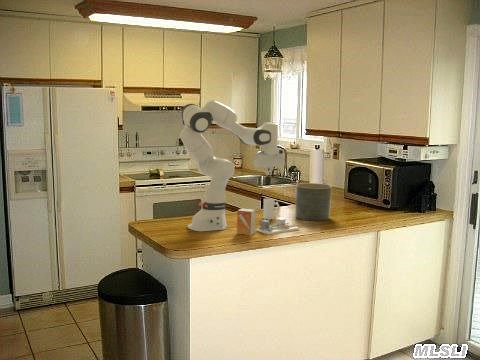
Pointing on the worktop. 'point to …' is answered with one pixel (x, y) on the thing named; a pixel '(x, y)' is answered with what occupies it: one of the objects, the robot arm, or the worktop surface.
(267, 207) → the mug
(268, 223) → the gauge board
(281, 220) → the sliding leg
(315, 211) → the planter
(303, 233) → the worktop surface
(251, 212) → the small box
